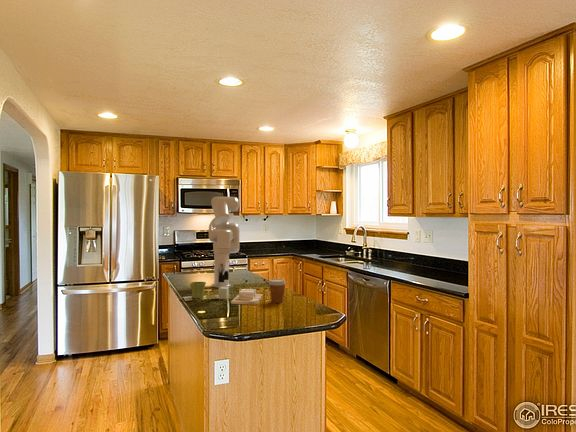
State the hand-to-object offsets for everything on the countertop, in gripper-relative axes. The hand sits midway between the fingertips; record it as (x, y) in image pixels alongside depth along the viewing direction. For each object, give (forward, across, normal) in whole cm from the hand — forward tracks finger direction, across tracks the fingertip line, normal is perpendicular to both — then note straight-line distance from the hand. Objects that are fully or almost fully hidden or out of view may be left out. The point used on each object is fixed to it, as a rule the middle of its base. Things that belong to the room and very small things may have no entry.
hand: (223, 281), depth 235 cm
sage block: (+10, -1, 0) cm, 10 cm away
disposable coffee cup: (+11, +4, +32) cm, 34 cm away
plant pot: (+10, 0, -15) cm, 18 cm away
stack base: (+10, +3, +15) cm, 18 cm away
